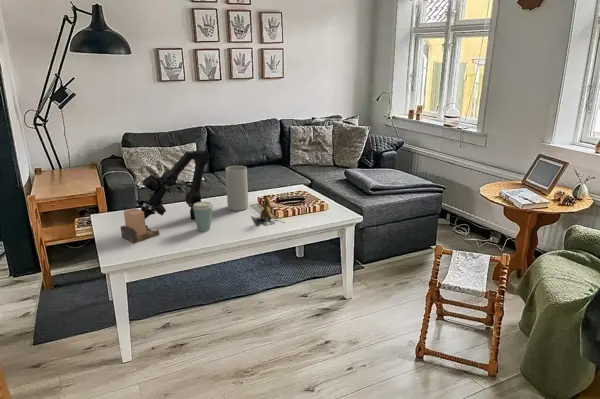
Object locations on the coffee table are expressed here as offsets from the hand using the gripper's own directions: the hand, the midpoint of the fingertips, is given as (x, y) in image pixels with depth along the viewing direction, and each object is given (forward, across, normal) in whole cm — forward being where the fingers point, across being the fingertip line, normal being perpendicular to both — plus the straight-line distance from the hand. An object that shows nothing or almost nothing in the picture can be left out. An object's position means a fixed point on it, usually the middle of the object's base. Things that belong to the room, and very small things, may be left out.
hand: (140, 221), depth 232 cm
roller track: (+6, 0, -5) cm, 8 cm away
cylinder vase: (-38, -5, -49) cm, 62 cm away
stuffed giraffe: (-36, -33, -48) cm, 68 cm away
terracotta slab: (+6, 0, -2) cm, 7 cm away
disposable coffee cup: (-13, -18, -24) cm, 33 cm away
